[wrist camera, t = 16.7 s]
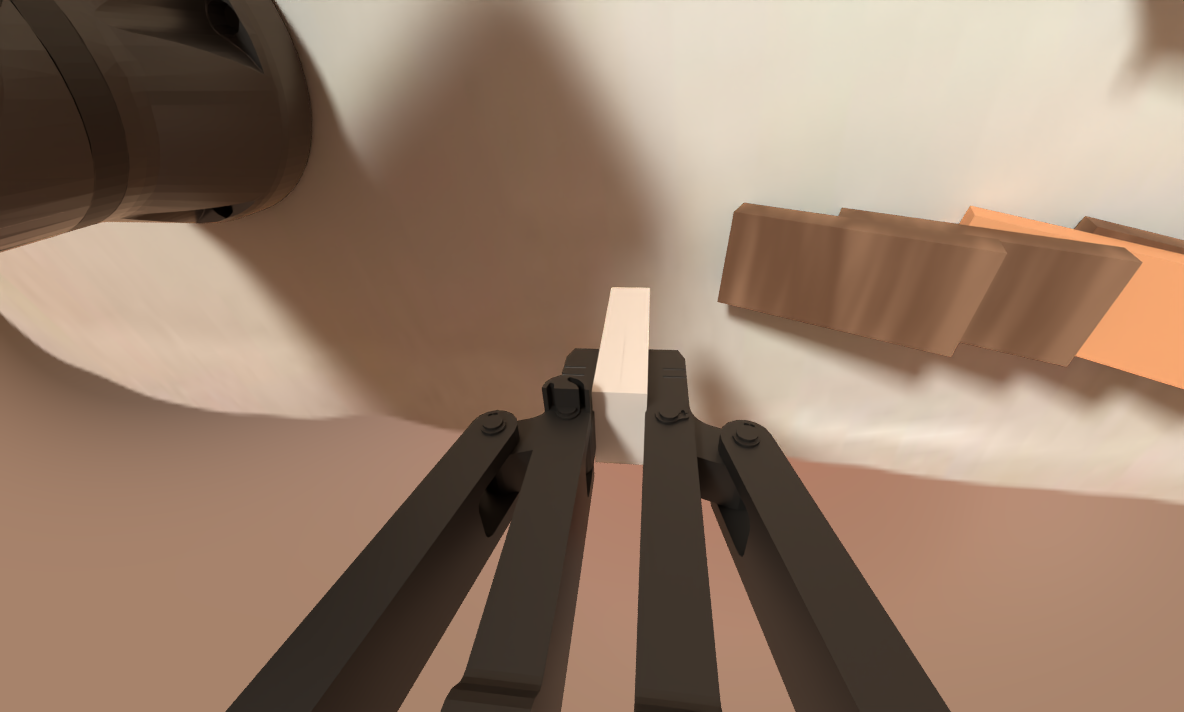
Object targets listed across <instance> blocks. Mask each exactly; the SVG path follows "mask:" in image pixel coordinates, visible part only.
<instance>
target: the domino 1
mask: <svg viewBox="0 0 1184 712" xmlns="http://www.w3.org/2000/svg"><path fill="white" fill-rule="evenodd" d="M1006 255H1007V252H1006V251H1005V249H1004V247H1003V245H1002V243H1001V242H1000V240H999V239H994V238H987V237H980V236H973V235H966V234H959V233H952V232H945V231H938V230H931V229H924V228H917V227H910V226H903V225H896V224H889V223H882V222H875V221H868V220H861V219H854V218H847V217H840V216H833V215H826V214H819V213H812V212H805V211H798V210H791V209H784V208H777V207H770V206H763V205H756V204H749V203H743V204H742V205H741V206H740V207H739V208H738V209H737V210H735V211H734V214H733V220H732V225H731V231H730V236H729V242H728V247H727V253H726V258H725V263H724V269H723V274H722V280H721V285H720V291H719V296H718V302H720V303H724V304H729V305H733V306H737V307H741V308H746V309H750V310H754V311H758V312H762V313H767V314H771V315H775V316H779V317H783V318H788V319H792V320H796V321H800V322H805V323H809V324H813V325H817V326H821V327H826V328H830V329H834V330H838V331H842V332H847V333H851V334H855V335H859V336H863V337H868V338H872V339H876V340H880V341H885V342H889V343H893V344H897V345H901V346H906V347H910V348H914V349H918V350H922V351H927V352H931V353H935V354H939V355H944V356H948V357H952V355H953V353H954V351H955V349H956V347H957V346H958V344H959V342H960V340H961V338H962V336H963V334H964V333H965V331H966V329H967V327H968V325H969V323H970V321H971V320H972V318H973V316H974V314H975V312H976V310H977V308H978V307H979V305H980V303H981V301H982V299H983V297H984V295H985V294H986V292H987V290H988V288H989V286H990V284H991V282H992V281H993V279H994V277H995V275H996V273H997V271H998V269H999V268H1000V266H1001V264H1002V262H1003V260H1004V258H1005V256H1006Z"/></svg>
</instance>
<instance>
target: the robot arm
mask: <svg viewBox="0 0 1184 712" xmlns="http://www.w3.org/2000/svg"><path fill="white" fill-rule="evenodd" d="M311 134H312V121H311V108H310V100H309V95H308V89H307V85H306V81H305V77H304V73H303V70H302V67H301V63H300V60H299V58H298V55H297V52H296V49H295V47H294V45H293V42H292V40H291V37H290V35H289V33H288V31H287V29H286V27H285V25H284V23H283V21H282V19H281V17H280V15H279V13H278V11H277V9H276V8H275V6H274V4H273V3H272V1H271V0H0V252H4V251H7V250H10V249H14V248H17V247H20V246H24V245H27V244H30V243H34V242H37V241H41V240H44V239H47V238H51V237H54V236H57V235H60V234H63V233H66V232H70V231H73V230H77V229H80V228H83V227H87V226H90V225H94V224H97V223H101V222H161V223H219V222H226V221H231V220H235V219H239V218H242V217H245V216H247V215H250V214H253V213H255V212H258V211H261V210H263V209H266V208H269V207H271V206H273V205H275V204H276V203H278V202H279V201H281V200H282V199H283V198H284V197H286V196H287V195H288V194H289V193H290V192H291V191H292V189H293V188H294V187H295V186H296V184H297V182H298V181H299V179H300V177H301V175H302V173H303V171H304V169H305V166H306V163H307V159H308V156H309V151H310V145H311ZM649 309H650V288H626V287H611V292H610V298H609V303H608V308H607V313H606V319H605V324H604V329H603V334H602V340H601V345H600V349H574V350H573V351H572V352H571V353H570V354H569V355H568V356H567V358H566V362H565V365H564V368H563V372H562V375H560V376H557V377H554V378H551V379H550V380H548V381H547V382H545V384H544V385H543V387H542V392H543V400H544V407H545V412H544V413H543V414H542V415H539V416H537V417H534V418H530V419H525V420H520V421H517V419H516V417H515V416H514V415H513V414H512V413H509V412H507V411H499V410H496V411H491V412H487V413H485V414H482V415H480V416H479V417H478V418H476V419H475V420H474V421H473V422H472V423H471V424H470V426H469V427H468V428H467V429H466V430H465V431H464V433H463V434H462V435H461V436H460V437H459V438H458V440H457V441H456V442H455V443H454V444H453V446H452V447H451V448H450V449H449V450H448V452H447V453H446V454H445V455H444V456H443V457H442V459H441V460H440V461H439V462H438V463H437V464H436V465H435V467H434V468H433V469H432V470H431V471H430V472H429V474H428V475H427V476H426V477H425V478H424V479H423V481H422V482H421V483H420V484H419V485H418V486H417V488H416V489H415V490H414V491H413V492H412V494H411V495H410V496H409V497H408V498H407V500H406V501H405V502H404V503H403V504H402V505H401V506H400V508H399V509H398V510H397V511H396V512H395V513H394V515H393V516H392V517H391V518H390V519H389V520H388V522H387V523H386V524H385V525H384V526H383V528H382V529H381V530H380V531H379V532H378V533H377V535H376V536H375V537H374V538H373V539H372V541H371V542H370V543H369V544H368V545H367V546H366V548H365V549H364V550H363V551H362V552H361V553H360V555H359V556H358V557H357V558H356V559H355V560H354V562H353V563H352V564H351V565H350V566H349V567H348V569H347V570H346V571H345V572H344V573H343V575H342V576H341V577H340V578H339V579H338V580H337V582H336V583H335V584H334V585H333V586H332V587H331V589H330V590H329V591H328V592H327V593H326V595H325V596H324V597H323V598H322V599H321V600H320V601H319V603H318V604H317V605H316V606H315V607H314V608H313V610H312V611H311V612H310V613H309V614H308V616H307V617H306V618H305V619H304V620H303V622H301V624H300V625H299V626H298V627H297V628H296V630H295V631H294V632H293V633H292V634H291V635H290V637H289V638H288V639H287V640H286V641H285V642H284V644H283V645H282V646H281V647H280V648H279V649H278V651H277V652H276V653H275V654H274V655H273V656H272V658H271V659H270V660H269V661H268V662H267V664H266V665H265V666H264V667H263V668H262V669H261V671H260V672H259V673H258V674H257V675H256V677H255V678H254V679H253V680H252V681H251V682H250V683H249V685H248V686H247V687H246V688H245V689H244V691H243V692H242V693H241V694H240V695H239V696H238V698H237V699H236V700H235V701H234V702H233V704H232V705H231V706H230V707H229V708H228V709H227V710H226V712H397V711H398V710H399V708H400V706H401V704H402V703H403V701H404V699H405V698H406V696H407V694H408V693H409V691H410V689H411V688H412V686H413V684H414V683H415V681H416V679H417V678H418V676H419V674H420V672H421V671H422V669H423V668H424V666H425V664H426V663H427V661H428V659H429V658H430V656H431V654H432V653H433V651H434V649H435V648H436V646H437V644H438V642H439V641H440V639H441V637H442V636H443V634H444V632H445V631H446V629H447V627H448V626H449V624H450V622H451V621H452V619H453V617H454V616H455V614H456V612H457V611H458V609H459V607H460V605H461V604H462V602H463V600H464V599H465V597H466V595H467V594H468V592H469V590H470V589H471V587H472V585H473V584H474V582H475V580H476V579H477V577H478V575H479V574H480V572H481V570H482V569H483V567H484V565H485V564H486V562H487V560H488V558H489V557H490V555H491V554H492V552H493V550H494V548H495V547H496V545H497V543H498V542H499V540H500V538H501V537H502V535H503V533H504V532H505V530H506V528H507V527H508V525H509V523H510V522H511V523H510V527H509V530H508V533H507V536H506V540H505V543H504V546H503V550H502V553H501V556H500V559H499V562H498V566H497V569H496V573H495V576H494V579H493V582H492V585H491V589H490V592H489V595H488V599H487V602H486V605H485V609H484V612H483V615H482V618H481V621H480V625H479V628H478V631H477V634H476V638H475V641H474V644H473V648H472V651H471V654H470V657H469V661H468V664H467V667H466V670H465V673H464V676H463V678H462V679H461V681H460V682H459V683H458V684H457V685H455V686H454V687H453V688H452V689H451V690H450V692H449V694H448V695H447V697H446V699H445V701H444V704H443V707H442V709H441V712H561V707H562V699H563V692H564V685H565V678H566V671H567V664H568V657H569V650H570V643H571V636H572V629H573V622H574V615H575V608H576V601H577V594H578V587H579V580H580V573H581V566H582V559H583V552H584V545H585V538H586V531H587V524H588V516H589V510H590V503H591V496H592V489H593V482H594V458H595V460H596V462H604V463H620V464H638V465H643V484H642V485H643V486H642V512H641V540H640V567H639V595H638V623H637V651H636V652H637V653H636V678H635V704H634V712H722V709H721V702H720V693H719V682H718V672H717V662H716V652H715V640H714V630H713V620H712V609H711V599H710V589H709V578H708V567H707V557H706V547H705V538H704V537H705V536H704V526H703V515H702V505H701V498H702V499H705V500H708V501H710V502H711V507H712V509H713V511H714V514H715V516H716V519H717V521H718V524H719V526H720V529H721V531H722V533H723V536H724V538H725V541H726V543H727V546H728V548H729V550H730V553H731V555H732V558H733V560H734V563H735V565H736V568H737V570H738V572H739V575H740V577H741V580H742V582H743V584H744V587H745V589H746V592H747V594H748V597H749V599H750V601H751V604H752V607H753V609H754V611H755V614H756V616H757V619H758V621H759V624H760V626H761V628H762V631H763V633H764V636H765V638H766V641H767V643H768V646H769V647H770V650H771V653H772V655H773V658H774V660H775V663H776V665H777V667H778V670H779V672H780V675H781V677H782V680H783V682H784V684H785V687H786V689H787V692H788V694H789V697H790V699H791V701H792V704H793V706H794V709H795V711H796V712H951V711H950V710H949V708H948V707H947V705H946V704H945V702H944V701H943V699H942V698H941V696H940V695H939V693H938V691H937V690H936V688H935V687H934V685H933V684H932V682H931V680H930V679H929V677H928V676H927V674H926V673H925V671H924V670H923V668H922V667H921V665H920V664H919V662H918V660H917V659H916V657H915V656H914V654H913V653H912V651H911V650H910V648H909V647H908V645H907V644H906V642H905V640H904V639H903V637H902V636H901V634H900V633H899V631H898V630H897V628H896V626H895V625H894V623H893V622H892V620H891V619H890V617H889V616H888V614H887V613H886V611H885V610H884V608H883V606H882V605H881V603H880V602H879V600H878V599H877V597H876V596H875V594H874V592H873V591H872V590H871V588H870V586H869V585H868V583H867V582H866V580H865V579H864V577H863V575H862V574H861V572H860V571H859V569H858V568H857V566H856V565H855V563H854V562H853V560H852V559H851V557H850V556H849V554H848V552H847V551H846V549H845V548H844V546H843V545H842V543H841V542H840V540H839V538H838V537H837V535H836V534H835V533H834V531H833V529H832V528H831V526H830V525H829V523H828V521H827V520H826V518H825V517H824V515H823V514H822V512H821V511H820V509H819V508H818V506H817V504H816V503H815V501H814V500H813V498H812V497H811V495H810V494H809V492H808V491H807V489H806V488H805V486H804V485H803V483H802V481H801V480H800V478H799V477H798V475H797V474H796V472H795V471H794V469H793V468H792V466H791V464H790V463H789V461H788V460H787V458H786V457H785V455H784V454H783V452H782V450H781V449H780V447H779V446H778V444H777V443H776V441H775V440H774V438H773V437H772V435H771V434H770V433H769V432H768V431H767V430H766V428H764V427H763V426H761V425H759V424H757V423H754V422H751V421H747V420H736V421H732V422H728V423H727V424H726V425H724V426H723V427H722V429H720V428H717V427H713V426H710V425H707V424H705V423H703V422H701V421H699V420H698V419H697V418H696V417H695V416H694V415H693V414H692V412H691V411H690V407H689V398H688V387H687V379H686V377H687V376H686V365H685V359H684V357H683V356H682V355H681V354H680V352H679V351H678V350H649V349H648V347H649Z"/></svg>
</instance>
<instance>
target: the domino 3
mask: <svg viewBox="0 0 1184 712" xmlns="http://www.w3.org/2000/svg"><path fill="white" fill-rule="evenodd" d="M959 224H961V225H968V226H975V227H983V228H990V229H997V230H1004V231H1011V232H1018V233H1025V234H1032V235H1039V236H1046V237H1054V238H1061V239H1068V240H1075V241H1082V242H1089V243H1096V244H1103V245H1110V246H1118V247H1124V248H1126V249H1127V250H1128V251H1129V252H1131V253H1132V254H1133V255H1134V256H1135V257H1137V258H1138V259H1139V260H1140V261H1142V262H1143V263H1142V264H1141V266H1140V267H1139V269H1138V270H1137V271H1136V273H1135V274H1134V275H1133V277H1132V278H1131V280H1130V281H1129V282H1128V284H1127V285H1126V286H1125V288H1124V289H1123V291H1122V292H1121V293H1120V295H1119V296H1118V297H1117V299H1116V300H1115V302H1114V303H1113V304H1112V306H1111V307H1110V308H1109V310H1108V311H1107V313H1106V314H1105V315H1104V317H1103V318H1102V319H1101V321H1100V322H1099V324H1098V325H1097V326H1096V328H1095V329H1094V330H1093V332H1092V333H1091V335H1090V336H1089V337H1088V339H1087V340H1086V341H1085V343H1084V344H1083V346H1082V347H1081V348H1080V350H1079V351H1078V352H1077V354H1076V355H1075V356H1077V357H1081V358H1084V359H1087V360H1090V361H1094V362H1097V363H1100V364H1103V365H1107V366H1110V367H1113V368H1116V369H1120V370H1123V371H1126V372H1129V373H1133V374H1136V375H1139V376H1142V377H1146V378H1149V379H1152V380H1155V381H1159V382H1162V383H1165V384H1169V385H1172V386H1175V387H1178V388H1182V389H1184V254H1180V253H1175V252H1171V251H1166V250H1162V249H1158V248H1153V247H1149V246H1144V245H1140V244H1136V243H1131V242H1127V241H1123V240H1118V239H1114V238H1109V237H1105V236H1101V235H1096V234H1092V233H1087V232H1083V231H1079V230H1074V229H1070V228H1066V227H1061V226H1057V225H1052V224H1048V223H1044V222H1039V221H1035V220H1030V219H1026V218H1022V217H1017V216H1013V215H1009V214H1004V213H1000V212H995V211H991V210H987V209H982V208H978V207H973V206H970V207H969V209H968V210H967V212H966V214H965V215H964V217H963V219H962V220H961V222H960V223H959Z"/></svg>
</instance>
